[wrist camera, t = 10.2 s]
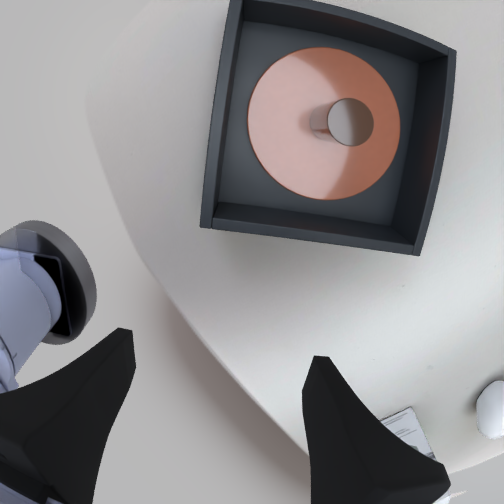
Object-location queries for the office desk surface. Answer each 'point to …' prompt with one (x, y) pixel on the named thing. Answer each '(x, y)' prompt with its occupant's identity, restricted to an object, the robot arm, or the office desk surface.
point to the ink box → (412, 437)
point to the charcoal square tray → (373, 198)
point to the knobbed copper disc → (323, 123)
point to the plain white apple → (491, 411)
